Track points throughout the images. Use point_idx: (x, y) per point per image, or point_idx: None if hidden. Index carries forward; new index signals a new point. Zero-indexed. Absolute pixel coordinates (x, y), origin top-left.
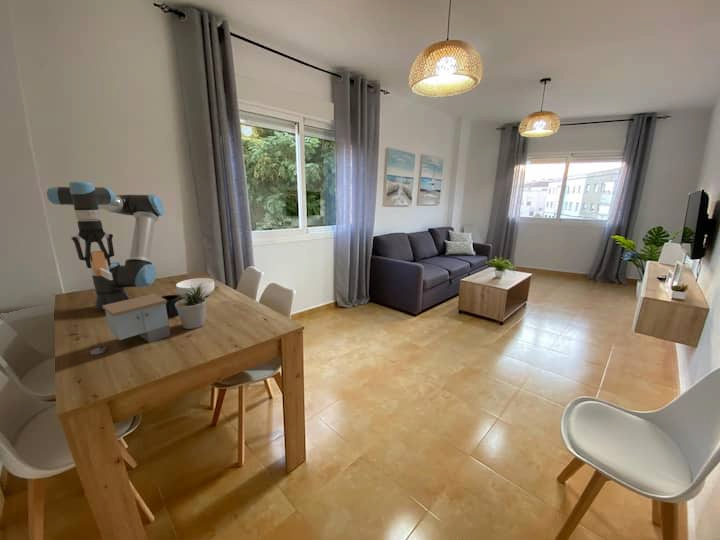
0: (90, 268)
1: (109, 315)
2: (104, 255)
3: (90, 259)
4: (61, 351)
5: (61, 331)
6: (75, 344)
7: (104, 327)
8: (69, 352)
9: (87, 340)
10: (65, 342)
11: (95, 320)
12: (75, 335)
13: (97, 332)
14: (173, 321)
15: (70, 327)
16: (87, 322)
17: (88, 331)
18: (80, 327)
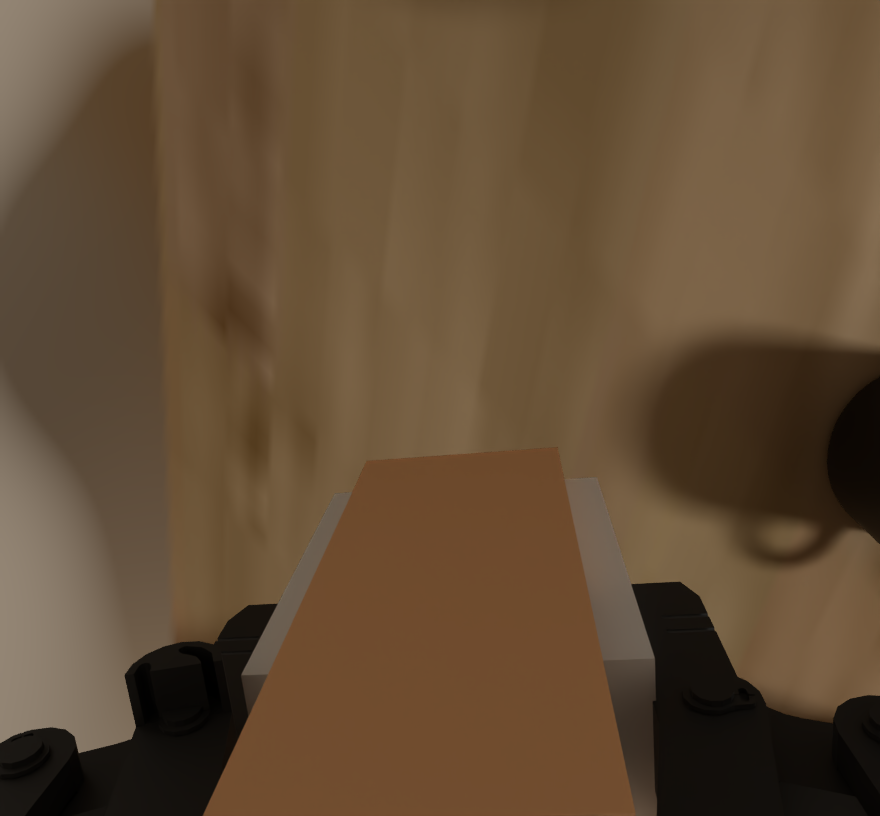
0: (304, 555)
1: None
2: (673, 764)
3: (287, 649)
4: (171, 587)
5: (158, 160)
6: (240, 534)
7: (432, 334)
8: (209, 638)
9: (306, 521)
10: (188, 446)
11: (399, 63)
12: (244, 350)
13: (376, 411)
14: (863, 619)
15: (216, 104)
16: (338, 69)
17: (325, 333)
18: (282, 174)
